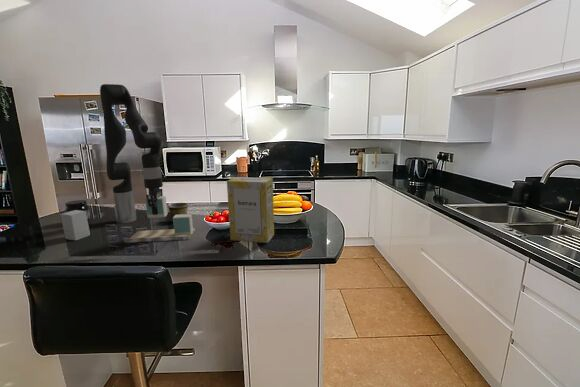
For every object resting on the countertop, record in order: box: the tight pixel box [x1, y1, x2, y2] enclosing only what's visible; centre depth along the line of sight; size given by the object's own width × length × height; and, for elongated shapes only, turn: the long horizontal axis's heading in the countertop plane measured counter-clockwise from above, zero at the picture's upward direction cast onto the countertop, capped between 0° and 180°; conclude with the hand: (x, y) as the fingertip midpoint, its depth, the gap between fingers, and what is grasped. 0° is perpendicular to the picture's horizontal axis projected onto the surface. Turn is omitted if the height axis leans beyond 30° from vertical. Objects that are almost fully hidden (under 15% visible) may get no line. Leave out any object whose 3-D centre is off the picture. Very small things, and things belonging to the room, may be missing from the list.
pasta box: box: [226, 176, 275, 244], centre depth 130 cm, size 18×10×28 cm, turn 77°
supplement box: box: [59, 210, 91, 241], centre depth 135 cm, size 7×7×13 cm
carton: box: [144, 195, 169, 219], centre depth 130 cm, size 8×5×9 cm, turn 96°
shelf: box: [123, 227, 197, 244], centre depth 133 cm, size 28×15×3 cm, turn 96°
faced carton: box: [172, 213, 194, 236], centre depth 134 cm, size 8×5×9 cm, turn 96°
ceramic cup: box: [167, 202, 189, 221], centre depth 156 cm, size 13×10×10 cm
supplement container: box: [65, 199, 92, 223], centre depth 157 cm, size 10×10×12 cm
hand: (157, 212), depth 131 cm, fingers closed on carton, 4 cm apart
